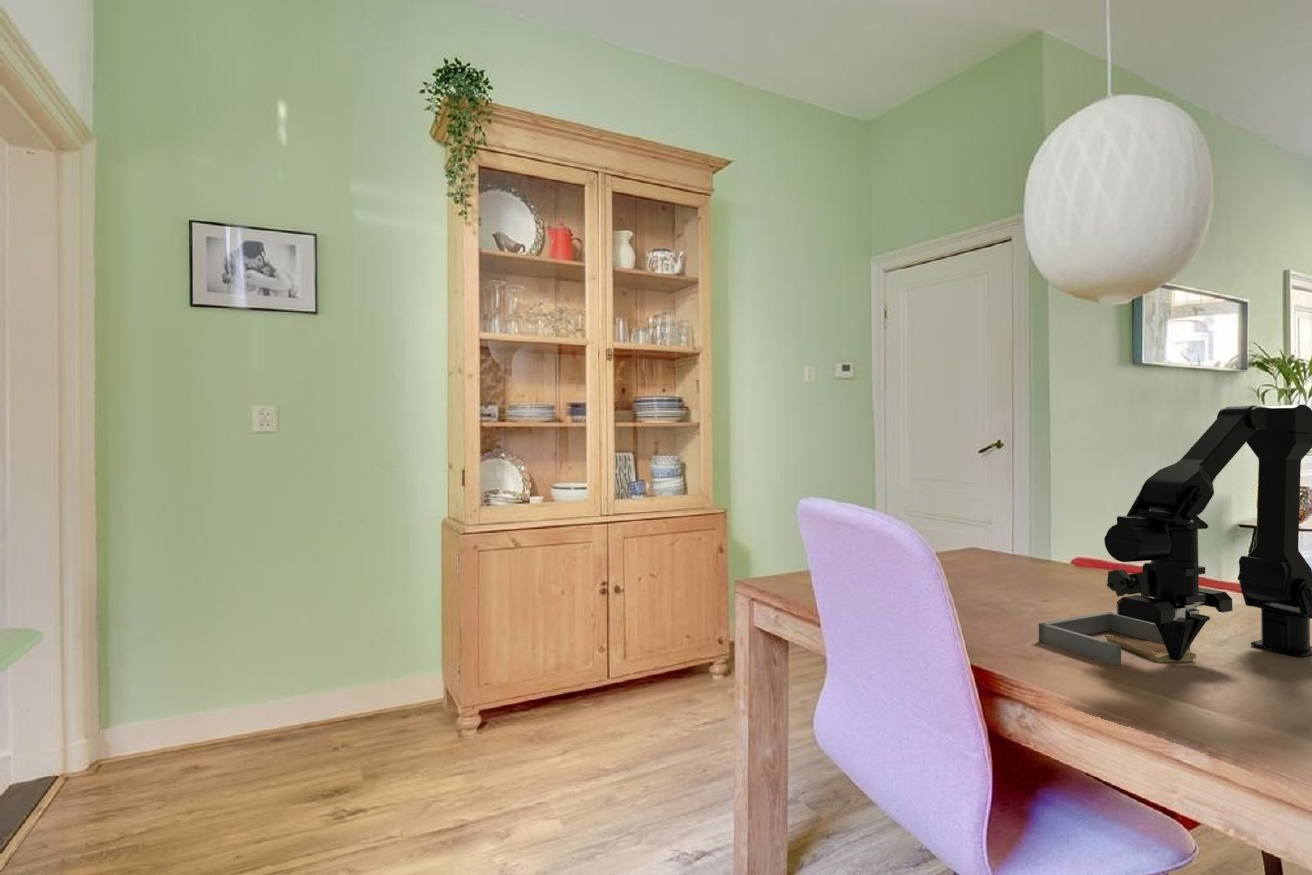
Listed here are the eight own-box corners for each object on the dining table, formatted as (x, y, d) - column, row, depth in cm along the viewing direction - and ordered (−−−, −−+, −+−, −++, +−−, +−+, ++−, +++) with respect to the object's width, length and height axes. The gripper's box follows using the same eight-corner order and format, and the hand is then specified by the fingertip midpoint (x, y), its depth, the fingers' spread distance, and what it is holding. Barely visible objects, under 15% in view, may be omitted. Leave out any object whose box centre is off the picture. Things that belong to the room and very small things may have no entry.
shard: (1104, 643, 111) (1103, 633, 111) (1146, 642, 111) (1146, 631, 111) (1156, 665, 100) (1156, 654, 100) (1203, 664, 101) (1203, 652, 101)
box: (1108, 628, 118) (1108, 611, 118) (1190, 649, 106) (1189, 631, 106) (1038, 640, 111) (1038, 623, 111) (1116, 665, 99) (1116, 645, 99)
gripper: (1155, 546, 111) (1156, 637, 110) (1081, 554, 103) (1082, 652, 103) (1233, 557, 100) (1235, 657, 100) (1157, 567, 93) (1159, 675, 93)
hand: (1175, 659), depth 99 cm, fingers closed
